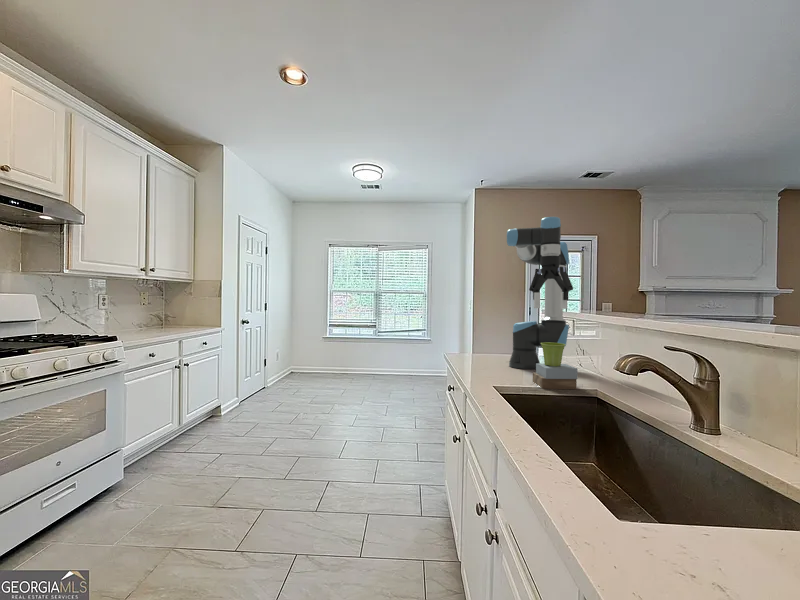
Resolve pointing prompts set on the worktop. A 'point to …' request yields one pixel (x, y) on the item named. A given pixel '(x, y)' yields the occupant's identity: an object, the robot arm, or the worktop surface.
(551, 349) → the plant pot
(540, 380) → the walnut base block
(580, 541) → the worktop surface
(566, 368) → the slate top block
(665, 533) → the worktop surface
